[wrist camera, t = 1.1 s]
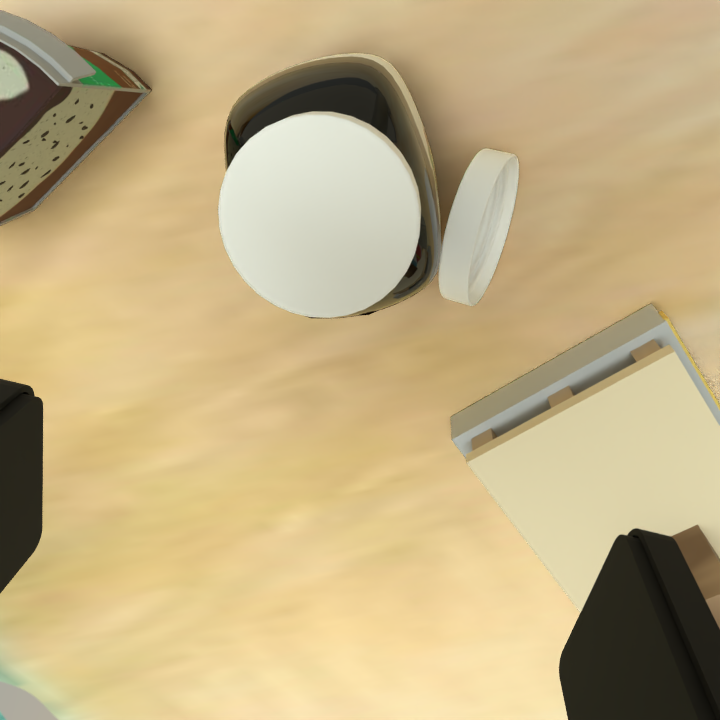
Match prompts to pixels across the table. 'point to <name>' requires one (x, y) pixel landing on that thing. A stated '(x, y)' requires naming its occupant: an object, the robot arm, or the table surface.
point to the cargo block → (702, 565)
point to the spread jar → (352, 194)
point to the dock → (600, 448)
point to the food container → (53, 110)
